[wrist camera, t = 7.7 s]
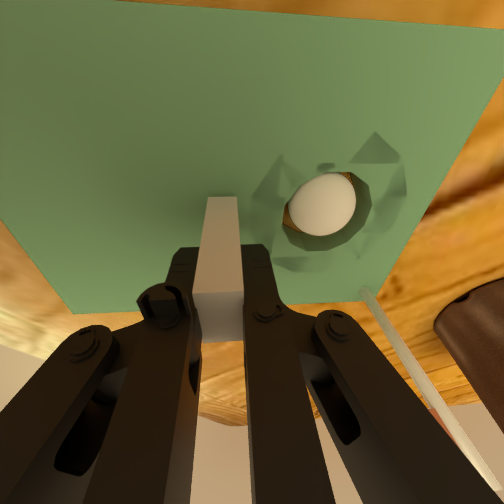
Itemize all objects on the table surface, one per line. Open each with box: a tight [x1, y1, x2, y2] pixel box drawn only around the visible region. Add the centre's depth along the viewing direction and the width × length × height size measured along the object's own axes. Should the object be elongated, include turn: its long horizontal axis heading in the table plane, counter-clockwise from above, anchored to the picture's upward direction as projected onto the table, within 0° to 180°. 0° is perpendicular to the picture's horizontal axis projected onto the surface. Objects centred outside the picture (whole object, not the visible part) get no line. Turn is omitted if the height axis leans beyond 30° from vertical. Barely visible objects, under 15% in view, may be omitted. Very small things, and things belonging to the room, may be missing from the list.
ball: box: [288, 172, 356, 236], centre depth 14 cm, size 4×4×4 cm
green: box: [0, 0, 504, 314], centre depth 14 cm, size 25×17×2 cm
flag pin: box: [359, 286, 503, 491], centre depth 15 cm, size 1×5×14 cm, turn 87°
